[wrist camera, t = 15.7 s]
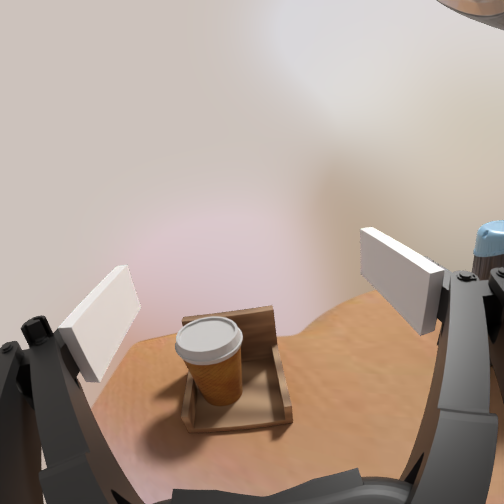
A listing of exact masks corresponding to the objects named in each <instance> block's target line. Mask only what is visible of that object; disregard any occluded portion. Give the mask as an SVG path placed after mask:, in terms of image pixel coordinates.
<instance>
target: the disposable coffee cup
mask: <svg viewBox="0 0 504 504" xmlns="http://www.w3.org/2000/svg"><path fill="white" fill-rule="evenodd" d="M242 340H243V335H242V332H241V330H240V329H239V328H238V327H237V325H236V323H235V322H234V321H233V320H230V319H228V318H225V317H219V316H212V317H205V318H200V319H197V320H194V321H192V322H190V323H188V324H186V325H185V326H183V327H182V328H181V329H180V330H179V332H178V334H177V336H176V343H175V349H176V352H177V354H178V355H179V356H180V357H181V358H182V359H183V360H184V362H185V364H186V366H187V368H188V369H189V372H190V373H191V375H192V377H193V379H194V381H195V382H196V384H197V386H198V388H199V390H200V391H201V393H202V395H203V397H204V399H205V400H206V401H207V402H208V403H209V404H211V405H214V406H227V405H230V404H233V403H234V402H236V401H237V400H238V399H239V398H240V397H241V395H242V392H243V389H242V368H241V343H242Z"/></svg>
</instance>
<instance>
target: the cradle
mask: <svg viewBox="0 0 504 504" xmlns="http://www.w3.org/2000/svg"><path fill="white" fill-rule="evenodd" d="M212 316H219V317H225V318H228V319H230V320H233V321H234V322H235V323H236V325H237V327H238V328H239V329H240V330H241V332H242V335H243V340H242V343H241V368H242V389H243V392H242V395H241V397H240V398H239V399H238V400H237V401H236V402H234V403H233V404H230V405H227V406H214V405H211V404H209V403H208V402H207V401H206V400H205V399H204V397H203V395H202V393H201V391H200V390H199V388H198V386H197V384H196V382H195V381H194V379H193V377H192V375H191V373H190V372H188V377H187V383H186V389H185V395H184V400H183V406H182V412H181V418H182V420H183V422H184V424H185V426H186V428H187V430H188V432H189V433H197V432H218V431H232V430H243V429H252V428H260V427H268V426H274V425H281V424H287V423H293V416H292V405H291V400H290V396H289V392H288V388H287V383H286V379H285V375H284V371H283V366H282V362H281V358H280V354H279V350H278V345H277V337H276V329H275V320H274V311H273V306H265V307H258V308H251V309H244V310H237V311H229V312H222V313H214V314H206V315H197V316H189V317H183V319H182V325H183V326H185V325H186V324H188V323H190V322H192V321H194V320H197V319H200V318H205V317H212Z"/></svg>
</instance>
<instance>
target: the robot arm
mask: <svg viewBox="0 0 504 504" xmlns="http://www.w3.org/2000/svg"><path fill="white" fill-rule="evenodd" d="M437 1H438V2H440V3H441V4H443V5H444V6H446V7H448V8H450V9H451V10H454V11H455V12H457V13H459V14H461V15H464V16H466V17H468V18H470V19H473V20H476V21H478V22H481V23H484V24H487V25H489V26H492V27H495V28H498V29H501V30H504V0H437ZM360 241H361V242H360V243H361V275H362V276H363V277H364V278H365V279H366V280H367V281H368V282H369V283H370V284H371V285H372V286H373V287H374V288H375V289H376V290H377V291H378V292H379V293H380V294H381V295H382V296H383V297H384V298H385V299H386V300H387V301H388V302H389V303H390V304H391V305H392V306H393V307H394V308H395V309H396V310H397V311H398V313H399V314H400V315H401V316H402V317H403V318H404V319H405V320H406V321H407V322H408V323H409V324H410V325H411V326H412V327H413V329H414V330H415V331H416V332H417V333H418V334H419V335H420V336H421V335H424V334H427V333H430V332H432V331H434V330H435V325H436V320H437V318H438V319H439V320H440V321H441V322H442V326H441V330H440V334H439V338H438V342H437V345H438V351H437V357H436V363H435V368H434V373H433V378H432V383H431V388H430V392H429V396H428V400H427V404H426V408H425V412H424V415H423V419H422V422H421V425H420V429H419V432H418V435H417V438H416V441H415V444H414V447H413V450H412V452H411V455H410V458H409V460H408V463H407V465H406V467H405V469H404V471H403V473H402V475H401V477H400V479H399V480H398V479H393V478H387V477H361V476H360V473H359V470H358V468H355V469H352V470H348V471H345V472H341V473H337V474H333V475H329V476H325V477H321V478H316V479H312V480H310V481H308V482H305V483H303V484H300V485H298V486H295V487H293V488H290V489H287V490H285V491H282V492H279V493H276V494H273V495H270V496H266V497H259V496H251V495H243V494H236V493H230V492H224V491H219V490H185V489H173V493H172V499H168V500H164V501H160V502H157V503H154V504H485V503H486V499H487V495H488V491H489V486H490V481H491V476H492V471H493V465H494V459H495V452H496V443H497V433H498V416H497V415H496V414H494V413H489V404H490V366H493V368H494V371H495V374H496V378H497V381H498V384H499V388H500V391H501V395H502V399H503V403H504V220H499V221H492V222H489V223H486V224H484V225H482V226H481V227H480V228H479V230H478V232H477V238H476V245H475V249H474V253H473V254H474V261H473V268H472V273H471V272H468V271H455V272H453V273H452V272H450V271H449V270H448V269H446V268H444V267H443V266H441V265H439V264H438V263H436V262H434V261H433V260H431V259H430V258H428V257H425V256H422V255H420V254H418V253H416V252H415V251H413V250H412V249H410V248H408V247H407V246H405V245H403V244H401V243H400V242H398V241H396V240H394V239H393V238H391V237H389V236H387V235H386V234H384V233H382V232H380V231H378V230H376V229H375V228H373V227H368V228H362V229H360ZM140 308H141V305H140V303H139V299H138V296H137V293H136V290H135V287H134V284H133V281H132V277H131V274H130V270H129V267H128V265H123V266H117V267H115V269H114V270H112V271H111V272H110V273H109V274H108V275H107V276H106V277H105V278H104V279H103V280H102V281H101V282H100V283H99V284H98V285H97V286H96V287H95V288H94V289H93V290H92V291H91V293H89V295H88V296H87V297H86V298H85V299H84V300H83V301H82V302H81V303H80V304H79V305H78V306H77V307H76V308H75V309H74V310H73V311H72V313H71V314H70V315H69V316H68V317H67V318H66V319H65V320H64V321H63V323H62V324H61V325H60V326H59V327H58V329H57V330H56V331H55V332H54V333H53V332H52V330H51V328H50V326H49V324H48V321H47V319H46V317H45V316H37V317H34V318H32V319H30V320H28V321H27V322H25V323H24V324H23V325H22V327H21V330H22V332H23V335H24V337H25V339H26V341H27V343H28V345H29V349H27V350H22V349H21V347H20V345H19V344H18V342H17V341H12V342H7V343H5V344H4V345H2V347H1V348H0V504H44V503H43V494H44V497H45V500H46V503H47V504H145V503H144V502H143V501H142V500H141V498H140V497H139V496H138V494H137V493H136V491H135V490H134V488H133V487H132V485H131V484H130V482H129V481H128V479H127V477H126V476H125V474H124V473H123V471H122V469H121V468H120V466H119V464H118V462H117V461H116V459H115V457H114V455H113V454H112V452H111V450H110V448H109V446H108V444H107V442H106V440H105V438H104V436H103V434H102V432H101V430H100V428H99V426H98V424H97V422H96V420H95V418H94V415H93V413H92V411H91V409H90V406H89V404H88V402H87V400H86V397H85V394H84V392H83V389H82V387H81V384H80V382H79V381H78V379H77V375H78V373H79V372H81V374H82V376H83V377H84V379H85V381H86V382H100V381H101V379H102V377H103V376H104V373H105V372H106V370H107V368H108V366H109V364H110V362H111V360H112V358H113V357H114V355H115V353H116V351H117V349H118V347H119V345H120V343H121V342H122V340H123V338H124V336H125V335H126V333H127V331H128V329H129V328H130V326H131V324H132V322H133V321H134V318H135V317H136V315H137V314H138V312H139V310H140ZM41 445H42V450H43V453H44V457H45V461H46V465H47V468H46V469H44V470H41Z"/></svg>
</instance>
